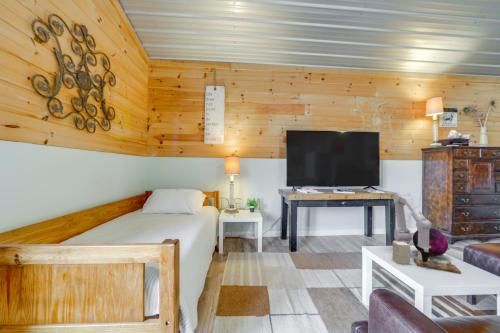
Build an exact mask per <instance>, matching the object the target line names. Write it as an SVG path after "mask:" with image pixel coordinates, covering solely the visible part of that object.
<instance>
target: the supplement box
mask: <svg viewBox="0 0 500 333" xmlns="http://www.w3.org/2000/svg"><path fill="white" fill-rule="evenodd" d="M391 257H392V258H391V259H392V260H393V261H394V262H395V263H397V264H399V265H411V245H410V244H407V243H405V242H397V241H394V240H393V241H392V256H391Z"/></svg>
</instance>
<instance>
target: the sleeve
mask: <svg viewBox="0 0 500 333" xmlns="http://www.w3.org/2000/svg"><path fill="white" fill-rule="evenodd" d="M429 257H430V256H429ZM429 257H428V261H427V262H423V261H422V255H421V252H420V251H418V250H417V259H418V261H419V262H421V263H425V264H427V263H429V261H430V260H429V259H430V258H429Z"/></svg>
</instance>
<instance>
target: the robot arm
mask: <svg viewBox="0 0 500 333" xmlns="http://www.w3.org/2000/svg"><path fill="white" fill-rule="evenodd" d="M393 205H394V208H395V209H394V210H395V215H396V224H397V225H396V226H397V228H395V229H394V232H393V233H394V234H393V238H394V240H393V241H397V242H405V243H407V244H409V243H410V242H411V241H413V235H412V234H411V230H410V229H408V227H407V223H406V215H405V206H406V207H407V208H408V209H409V210H410V211H411V214H410V215H411V216H412V218H413V220H414V221H415V222H416V223H415V225H416V226H415V227H416V231H417V230H418V246H416V247H417V249H418V250H417V249H416V250H417V252H418V251H420V252H421V255H422V261H423V262H427V261H428V257H430V256H429V255H430V254H431V252H429V248H431V246H429V229H431V228H433V224H432V222H431V221H430V220H428V219H427V218H426V217H425V216H424V215H423V213H422V212H421V210H418V209H417V207H416V206H415V203H414V202H413V197H412V195H411V194H410V193H398V192H396V193H394V195H393ZM409 245H410V244H409ZM416 247H415V248H416Z"/></svg>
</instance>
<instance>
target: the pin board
mask: <svg viewBox="0 0 500 333" xmlns="http://www.w3.org/2000/svg"><path fill="white" fill-rule="evenodd" d="M413 262H414V263H415V265H416V266H417V267H420V268H425V269H432V270H435V271H441V272H442V271H443V272H447V273H453V274H459V275H461V274H462V271H461V270H460V269H459V268H458V267H457V266H456V265H455V264H452V262H451V261H449V260H447V261H446V262H439V259H437V258H433V260H429V263H427V264H425V263H421V262H419V261H418V257H413Z"/></svg>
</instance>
